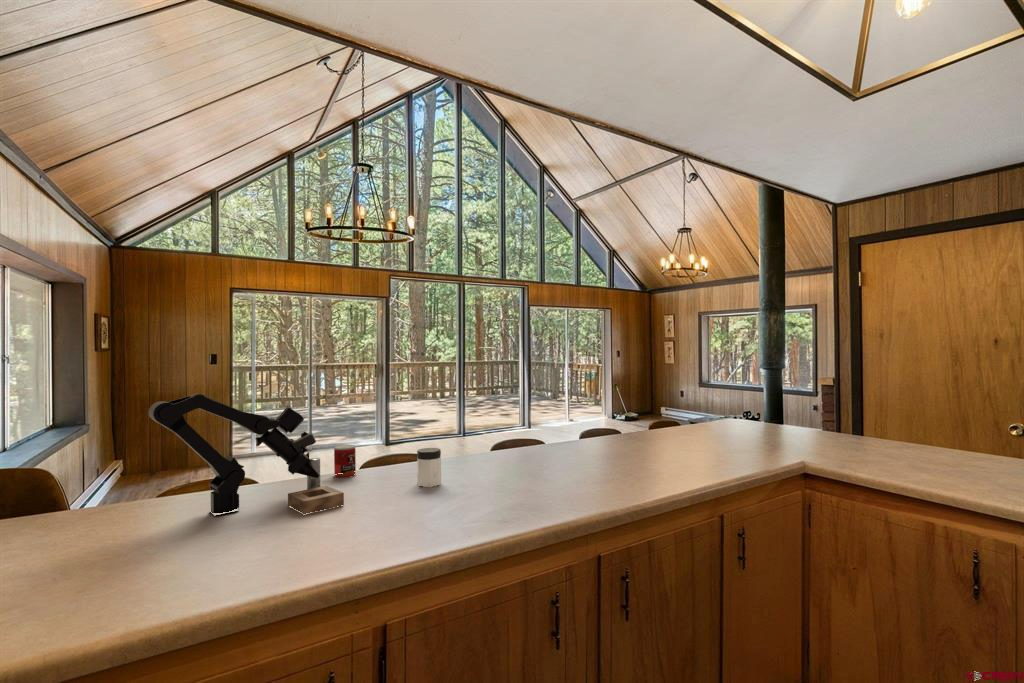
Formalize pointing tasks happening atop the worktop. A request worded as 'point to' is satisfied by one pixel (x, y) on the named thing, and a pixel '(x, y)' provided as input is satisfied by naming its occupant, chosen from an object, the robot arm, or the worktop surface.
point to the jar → (429, 467)
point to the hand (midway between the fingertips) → (318, 475)
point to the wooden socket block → (315, 499)
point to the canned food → (344, 460)
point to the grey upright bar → (313, 481)
